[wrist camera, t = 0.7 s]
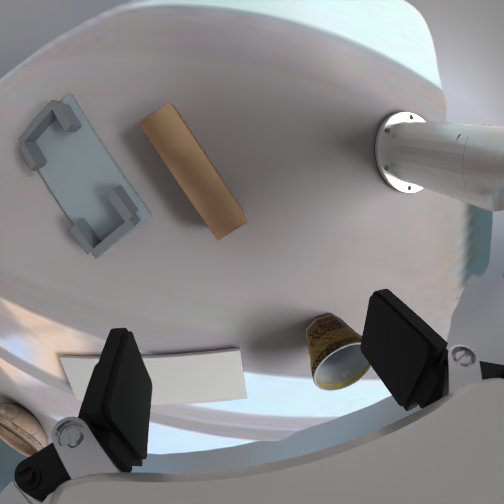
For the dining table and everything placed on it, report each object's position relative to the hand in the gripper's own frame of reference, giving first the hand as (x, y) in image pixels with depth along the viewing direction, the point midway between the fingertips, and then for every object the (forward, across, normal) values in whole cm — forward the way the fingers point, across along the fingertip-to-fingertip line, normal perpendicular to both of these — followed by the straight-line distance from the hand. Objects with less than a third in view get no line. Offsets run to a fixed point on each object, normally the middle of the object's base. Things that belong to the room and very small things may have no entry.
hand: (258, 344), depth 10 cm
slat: (+27, +2, -5) cm, 28 cm away
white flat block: (+28, +16, +28) cm, 43 cm away
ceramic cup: (+26, -17, +22) cm, 39 cm away
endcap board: (+27, +18, -6) cm, 33 cm away
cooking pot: (+30, +65, +50) cm, 87 cm away
